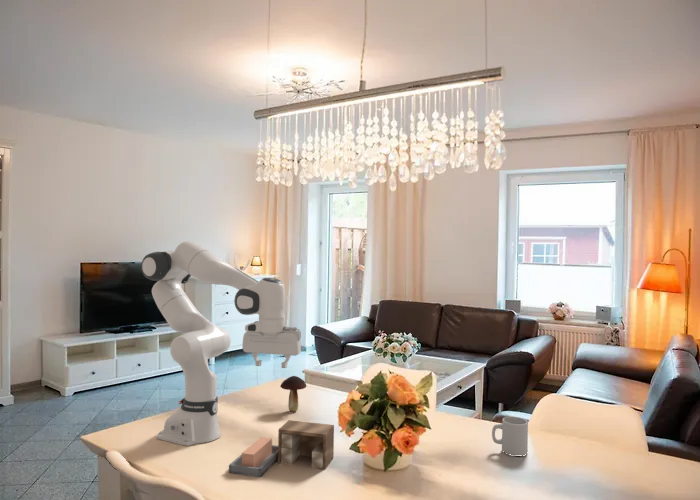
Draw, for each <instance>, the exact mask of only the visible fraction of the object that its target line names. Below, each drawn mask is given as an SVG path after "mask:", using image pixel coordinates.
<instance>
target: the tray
mask: <svg viewBox="0 0 700 500" xmlns="http://www.w3.org/2000/svg"><path fill="white" fill-rule="evenodd" d="M277 462H278V445H274V444H272V454H271V455H270V456H269V457H267V458H266V459H265V460H264V461H263V462H262V463H261V464H260V465H259V466H258V467H249V466H242V453H241V454H240V455H239V456H238V457H237V458H235V459H234V460H233V461H232V462H231V463H229V464H228V473H229V474H233V475H234V474H235V475H241V476H250V477H257V478H261V477H263V475H264V474H265V473H267V472H268V470H269V469H270V468H271V467H272V466H273V465H274V464H275V463H277Z"/></svg>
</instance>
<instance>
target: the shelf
mask: <svg viewBox="0 0 700 500" xmlns="http://www.w3.org/2000/svg"><path fill="white" fill-rule="evenodd" d="M334 436H335V425H334V424H327V423H320V422H319V423H317V422H308V421H300V420H299V421H298V420H291V419H289V420H287V421H286V422H285V423H283V425H281V427H279V429H278V440H277V441H278V442H277V443H278V445H277V446H278V460H277V464H283V465H293V464H294V463H295V462H296V461H297V459H298V458H299V457H300V456H306V457H311V468H314V469H320V470H321V469H323V470H326V469H327V468H328V467H329V465H330V464H331V462H332V461H333V459H334V448H335V446H334V442H335V437H334Z"/></svg>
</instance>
